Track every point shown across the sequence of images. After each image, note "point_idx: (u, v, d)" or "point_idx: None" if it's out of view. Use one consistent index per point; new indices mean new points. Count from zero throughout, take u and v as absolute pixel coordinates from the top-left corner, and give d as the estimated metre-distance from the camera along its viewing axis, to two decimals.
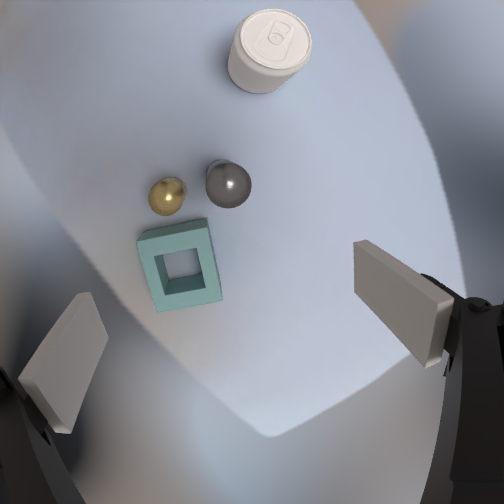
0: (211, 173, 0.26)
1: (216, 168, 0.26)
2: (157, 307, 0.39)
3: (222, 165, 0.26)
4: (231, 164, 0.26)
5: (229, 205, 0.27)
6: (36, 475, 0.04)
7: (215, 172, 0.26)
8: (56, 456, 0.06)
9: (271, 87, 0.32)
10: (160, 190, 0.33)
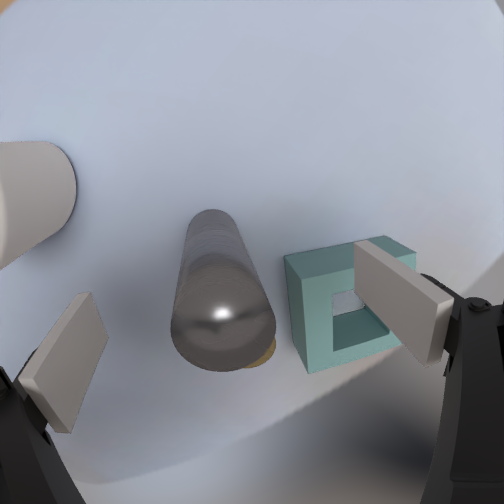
0: (197, 363, 0.12)
1: (185, 355, 0.11)
2: (401, 342, 0.25)
3: (177, 345, 0.11)
4: (173, 328, 0.11)
5: (269, 327, 0.11)
6: (36, 475, 0.04)
7: (194, 356, 0.11)
8: (56, 456, 0.06)
9: (52, 178, 0.17)
10: None
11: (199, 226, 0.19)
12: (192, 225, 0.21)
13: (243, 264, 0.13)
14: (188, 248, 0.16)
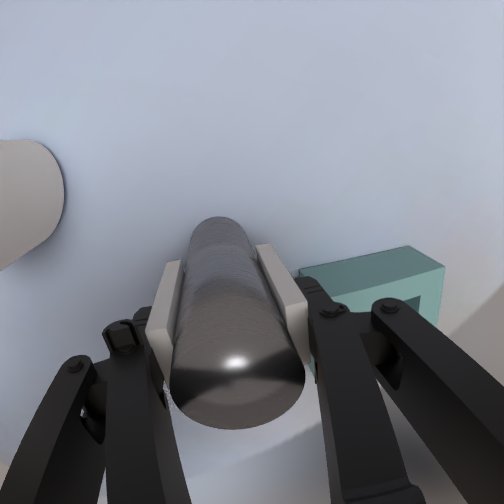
0: (203, 421, 0.09)
1: (189, 413, 0.08)
2: None
3: (178, 403, 0.08)
4: (172, 385, 0.08)
5: (297, 381, 0.08)
6: (146, 446, 0.05)
7: (200, 415, 0.08)
8: (169, 421, 0.08)
9: (33, 182, 0.14)
10: None
11: (204, 239, 0.16)
12: (196, 236, 0.18)
13: (261, 296, 0.10)
14: (191, 269, 0.13)
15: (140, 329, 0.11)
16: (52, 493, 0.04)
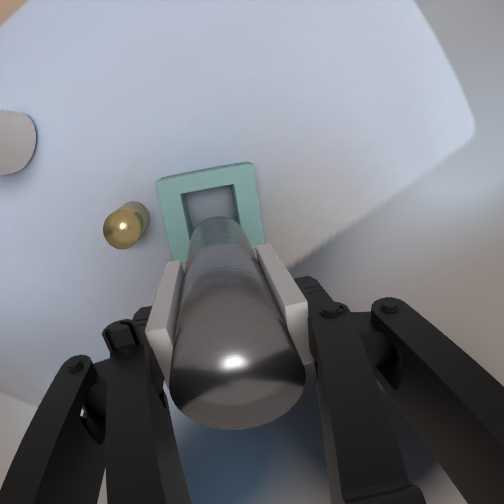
0: (203, 422, 0.09)
1: (188, 414, 0.08)
2: None
3: (178, 403, 0.08)
4: (172, 385, 0.08)
5: (297, 381, 0.08)
6: (145, 445, 0.05)
7: (200, 415, 0.08)
8: (169, 421, 0.08)
9: (19, 129, 0.25)
10: (112, 236, 0.29)
11: (204, 239, 0.16)
12: (195, 236, 0.18)
13: (261, 296, 0.10)
14: (191, 268, 0.13)
15: (140, 329, 0.11)
16: (52, 493, 0.04)
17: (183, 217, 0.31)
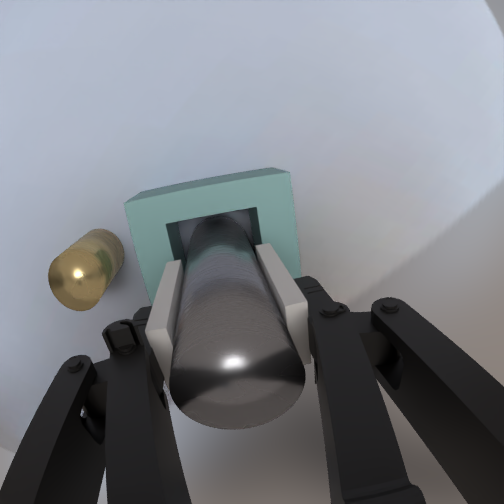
0: (203, 421, 0.09)
1: (188, 413, 0.08)
2: None
3: (178, 403, 0.08)
4: (172, 384, 0.08)
5: (297, 381, 0.08)
6: (145, 445, 0.05)
7: (200, 415, 0.08)
8: (169, 421, 0.08)
9: None
10: (62, 290, 0.17)
11: (204, 239, 0.16)
12: (195, 236, 0.18)
13: (261, 296, 0.10)
14: (191, 268, 0.13)
15: (140, 329, 0.11)
16: (52, 493, 0.04)
17: None
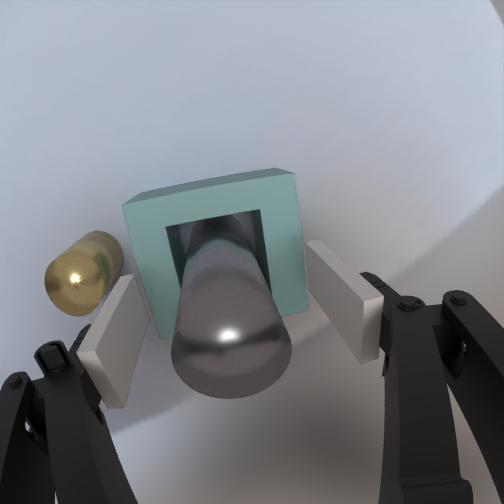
0: (201, 390, 0.10)
1: (188, 382, 0.10)
2: (297, 309, 0.20)
3: (179, 371, 0.10)
4: (174, 353, 0.09)
5: (284, 352, 0.10)
6: (85, 458, 0.05)
7: (198, 383, 0.10)
8: (107, 436, 0.07)
9: None
10: (59, 295, 0.16)
11: (203, 231, 0.18)
12: (196, 230, 0.20)
13: (254, 278, 0.12)
14: (191, 257, 0.15)
15: None
16: (11, 500, 0.03)
17: (172, 266, 0.18)
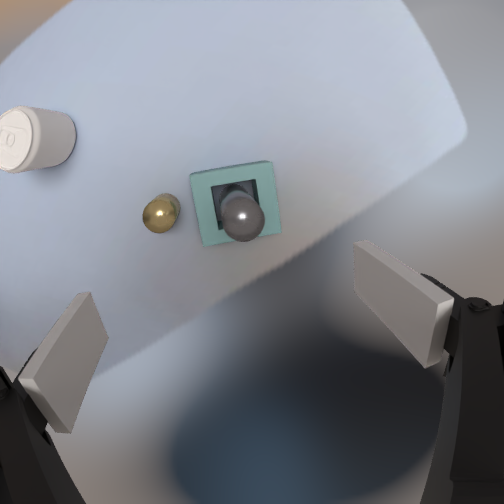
0: (231, 236, 0.29)
1: (227, 232, 0.29)
2: (275, 231, 0.39)
3: (224, 227, 0.28)
4: (223, 218, 0.28)
5: (262, 220, 0.29)
6: (36, 475, 0.04)
7: (230, 233, 0.29)
8: (56, 456, 0.06)
9: (63, 127, 0.31)
10: (150, 221, 0.35)
11: (228, 189, 0.37)
12: (223, 190, 0.39)
13: (251, 198, 0.31)
14: (225, 197, 0.34)
15: None
16: None
17: (212, 206, 0.37)
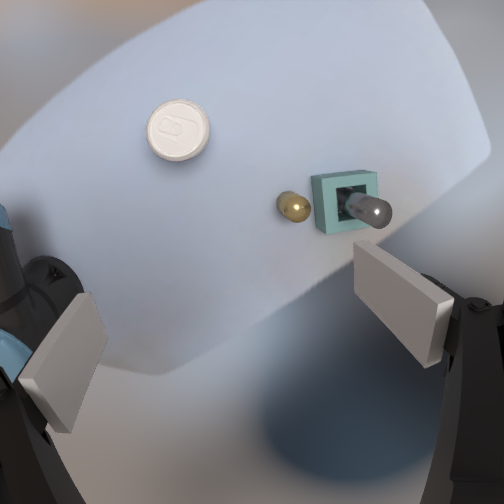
0: (372, 225, 0.39)
1: (370, 221, 0.39)
2: None
3: (368, 218, 0.39)
4: (368, 212, 0.38)
5: (390, 214, 0.39)
6: (36, 475, 0.04)
7: (372, 222, 0.39)
8: (56, 456, 0.06)
9: None
10: (291, 213, 0.45)
11: (347, 191, 0.47)
12: (339, 191, 0.49)
13: None
14: (352, 196, 0.44)
15: None
16: None
17: (336, 203, 0.47)
